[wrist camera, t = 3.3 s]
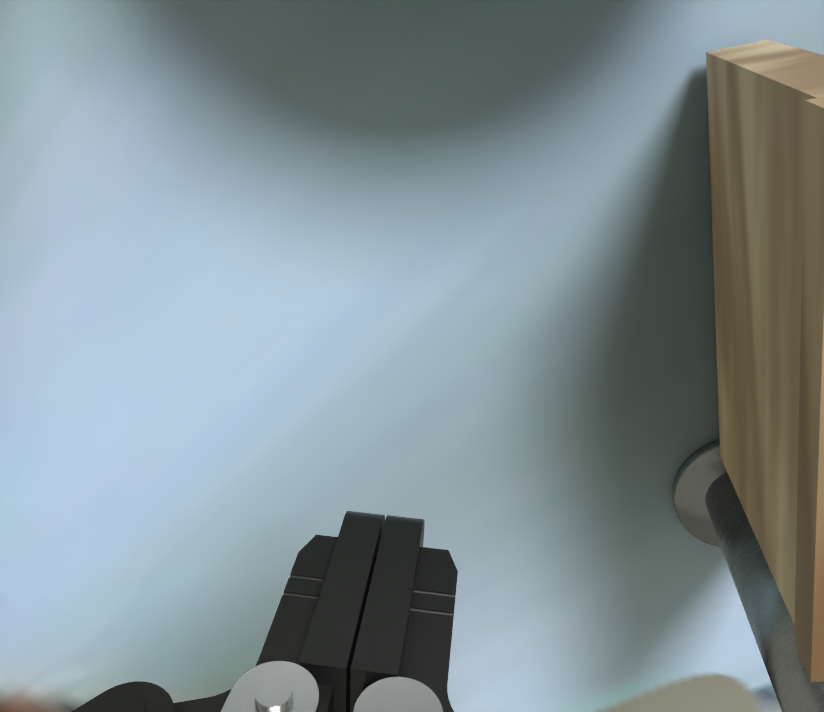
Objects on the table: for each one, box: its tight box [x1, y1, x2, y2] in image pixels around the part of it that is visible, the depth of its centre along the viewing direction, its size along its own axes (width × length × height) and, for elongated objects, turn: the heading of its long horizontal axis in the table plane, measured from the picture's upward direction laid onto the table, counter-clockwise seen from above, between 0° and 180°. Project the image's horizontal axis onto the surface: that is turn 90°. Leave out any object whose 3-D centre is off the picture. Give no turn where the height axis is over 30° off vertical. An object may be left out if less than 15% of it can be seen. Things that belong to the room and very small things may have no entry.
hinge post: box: [672, 439, 824, 712], centre depth 23 cm, size 5×5×11 cm
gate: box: [706, 40, 824, 682], centre depth 20 cm, size 2×14×10 cm, turn 12°
